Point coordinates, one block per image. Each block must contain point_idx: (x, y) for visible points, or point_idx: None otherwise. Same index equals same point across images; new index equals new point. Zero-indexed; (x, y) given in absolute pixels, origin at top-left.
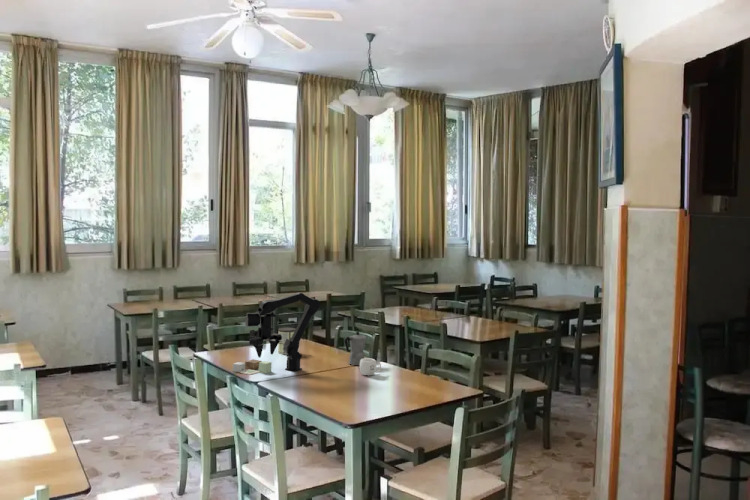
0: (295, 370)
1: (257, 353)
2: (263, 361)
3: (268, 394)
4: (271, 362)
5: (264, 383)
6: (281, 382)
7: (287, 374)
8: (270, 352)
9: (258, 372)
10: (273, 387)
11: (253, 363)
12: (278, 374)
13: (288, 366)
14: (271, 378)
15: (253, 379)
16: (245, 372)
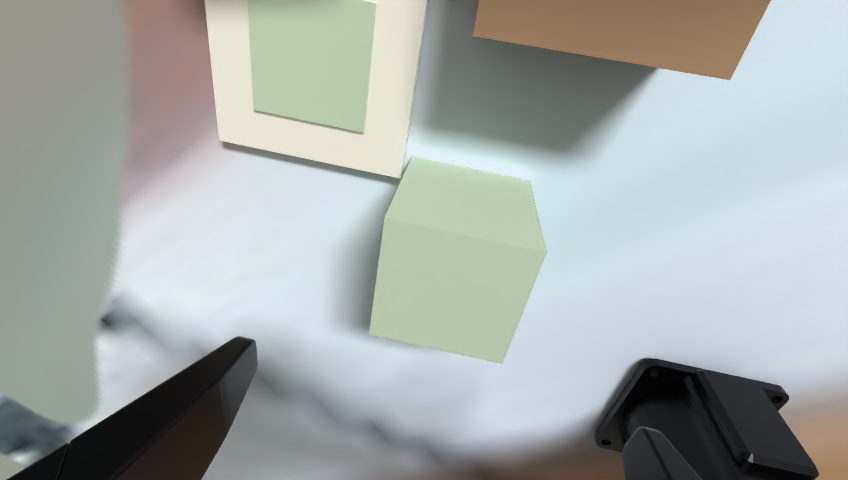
0: (609, 446)
1: (153, 397)
2: (498, 247)
3: (10, 456)
4: (500, 362)
5: (129, 374)
6: (239, 444)
7: (468, 418)
8: (658, 458)
9: (384, 169)
10: None
11: (475, 22)
12: (429, 366)
13: (655, 418)
14: (275, 366)
15: (134, 261)
16: (232, 34)
